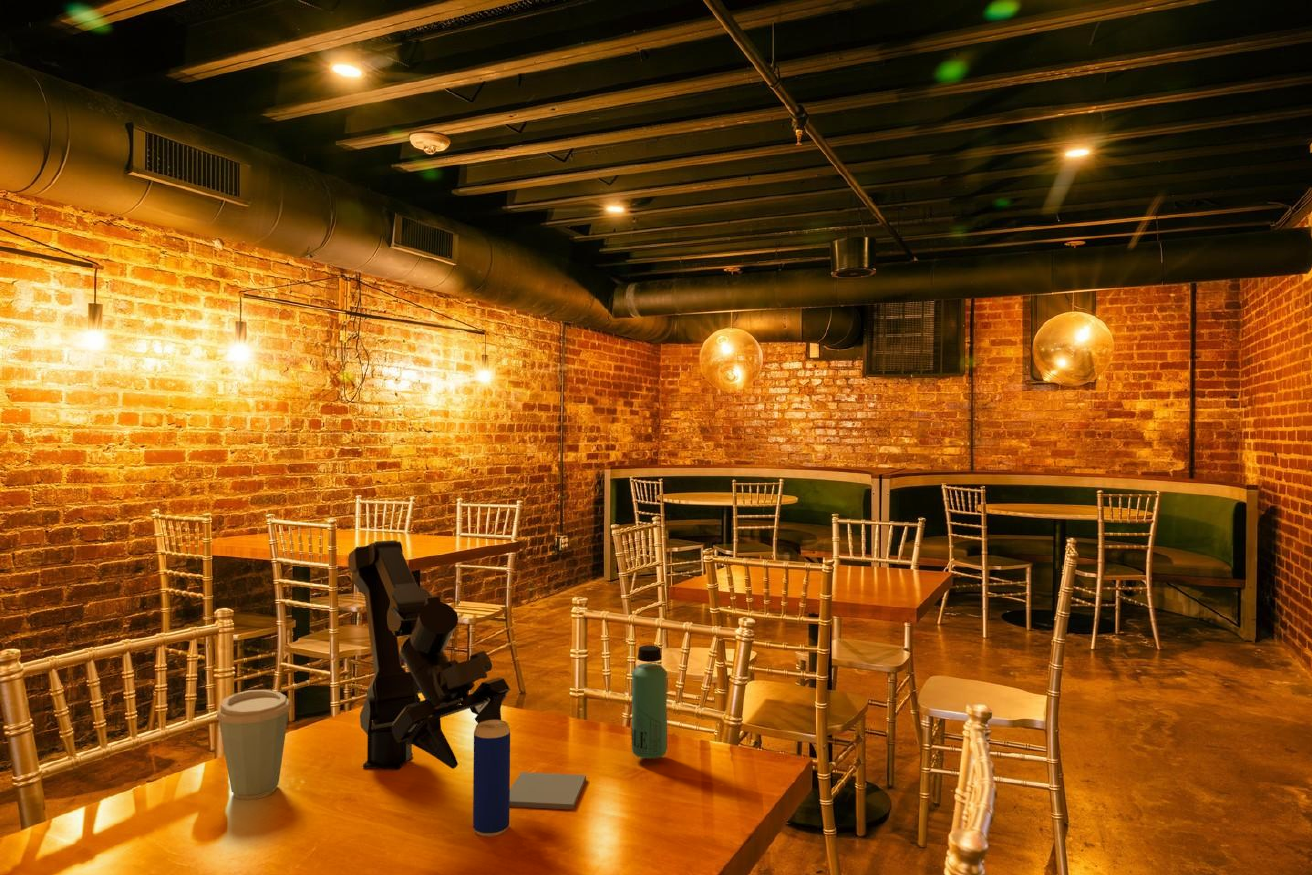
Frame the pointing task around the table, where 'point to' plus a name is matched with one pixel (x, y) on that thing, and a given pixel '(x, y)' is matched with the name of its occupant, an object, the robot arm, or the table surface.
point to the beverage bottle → (649, 705)
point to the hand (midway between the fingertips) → (480, 756)
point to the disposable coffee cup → (253, 740)
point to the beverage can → (491, 778)
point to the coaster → (546, 790)
